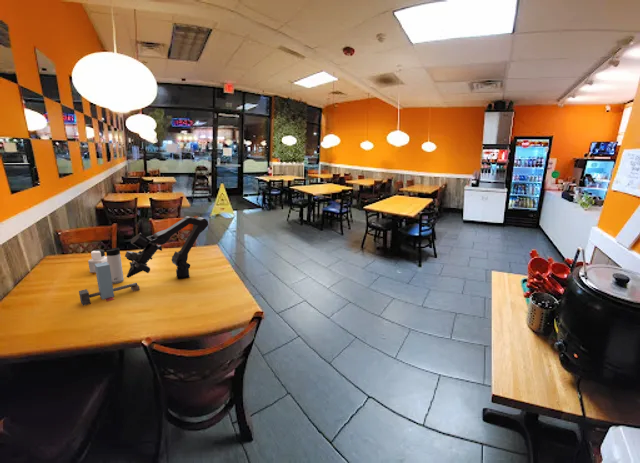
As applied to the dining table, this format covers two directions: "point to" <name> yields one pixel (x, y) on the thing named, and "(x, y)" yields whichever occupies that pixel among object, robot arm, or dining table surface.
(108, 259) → the travel mug
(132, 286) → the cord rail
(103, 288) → the sleeve
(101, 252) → the container
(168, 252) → the dining table surface
